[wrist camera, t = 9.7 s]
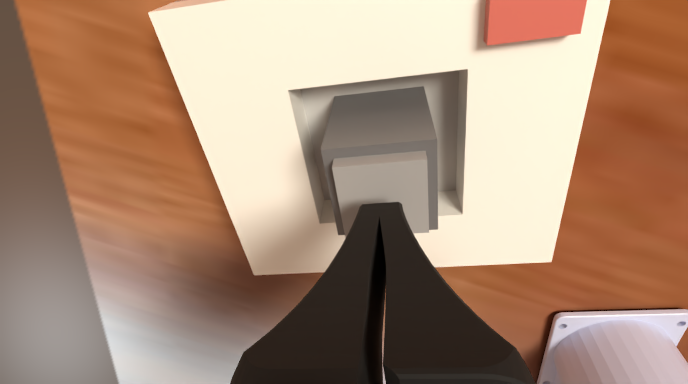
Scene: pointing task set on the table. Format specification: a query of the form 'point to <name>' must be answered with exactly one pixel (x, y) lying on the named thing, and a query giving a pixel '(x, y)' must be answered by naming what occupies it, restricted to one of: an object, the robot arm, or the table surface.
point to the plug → (382, 156)
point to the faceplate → (379, 75)
